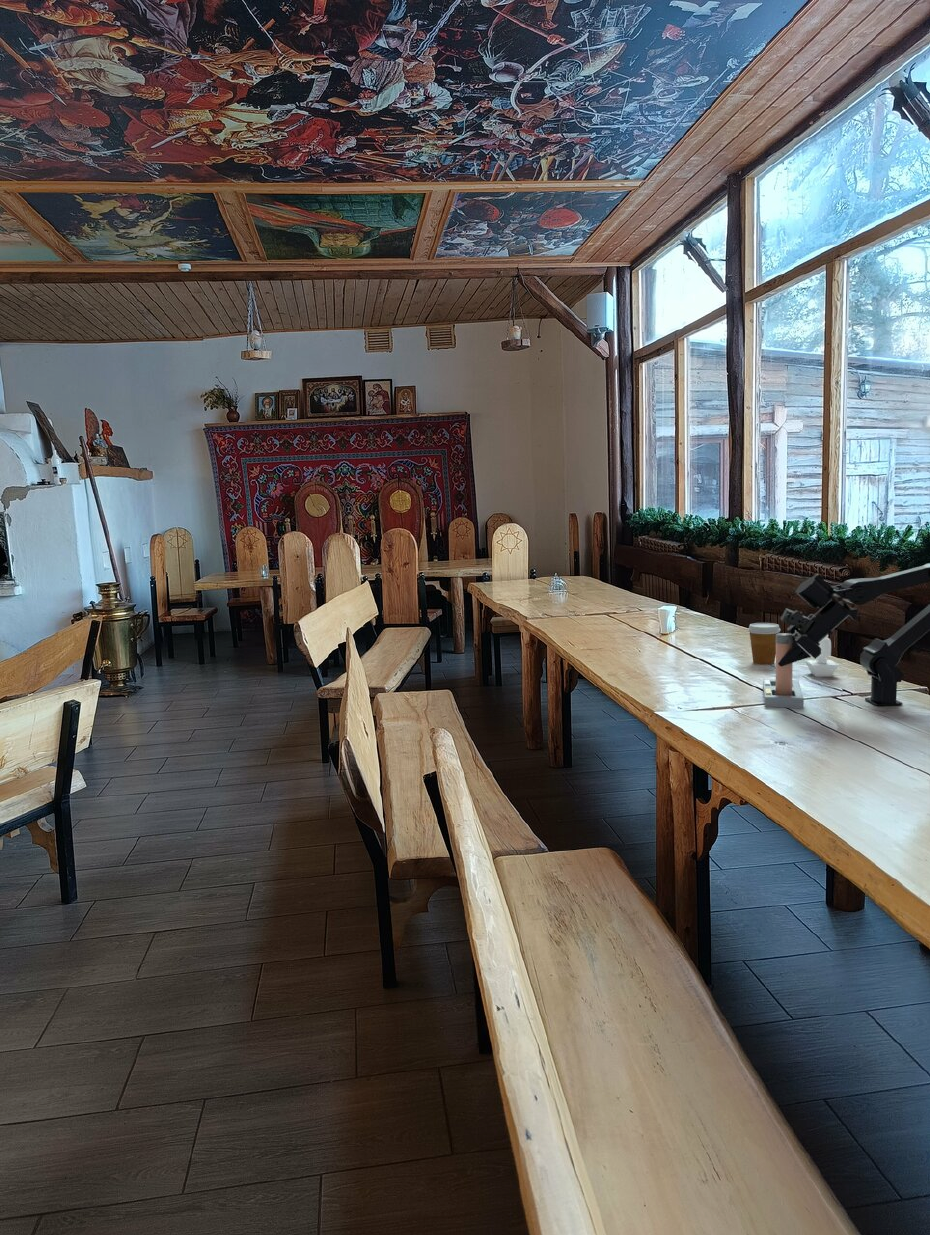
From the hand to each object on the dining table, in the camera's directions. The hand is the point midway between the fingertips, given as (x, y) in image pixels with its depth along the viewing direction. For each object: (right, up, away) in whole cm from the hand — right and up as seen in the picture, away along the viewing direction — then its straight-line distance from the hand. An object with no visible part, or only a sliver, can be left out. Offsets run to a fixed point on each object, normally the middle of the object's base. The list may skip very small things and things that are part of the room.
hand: (778, 663), depth 204 cm
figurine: (+24, -5, +29) cm, 38 cm away
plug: (+2, -8, +1) cm, 9 cm away
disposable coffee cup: (+14, -3, +48) cm, 50 cm away
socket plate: (+3, -9, +6) cm, 11 cm away
